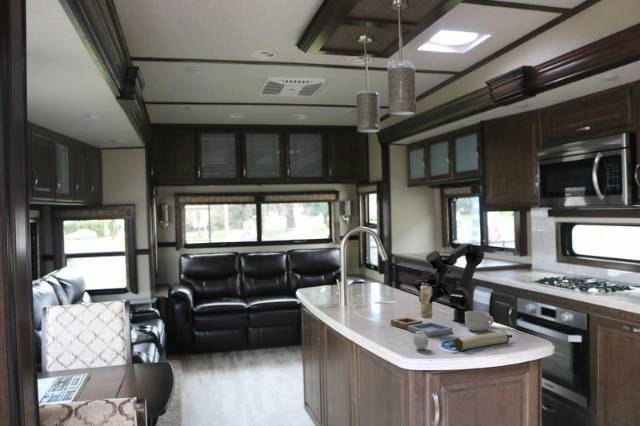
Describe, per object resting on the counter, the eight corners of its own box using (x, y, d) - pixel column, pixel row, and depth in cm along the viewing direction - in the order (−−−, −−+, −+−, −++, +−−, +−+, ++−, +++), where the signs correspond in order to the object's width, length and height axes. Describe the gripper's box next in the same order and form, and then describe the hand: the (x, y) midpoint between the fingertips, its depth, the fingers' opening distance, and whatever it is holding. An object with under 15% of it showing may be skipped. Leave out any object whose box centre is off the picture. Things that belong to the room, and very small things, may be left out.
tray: (452, 332, 220) (452, 327, 220) (428, 337, 213) (428, 332, 213) (430, 326, 232) (430, 322, 232) (407, 330, 225) (407, 326, 225)
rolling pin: (507, 340, 206) (506, 328, 206) (517, 343, 201) (517, 331, 201) (445, 350, 193) (445, 338, 193) (454, 354, 188) (454, 341, 188)
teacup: (460, 328, 227) (459, 311, 227) (479, 326, 231) (478, 309, 231) (480, 335, 214) (479, 317, 214) (500, 332, 218) (499, 314, 218)
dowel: (434, 316, 224) (433, 286, 224) (430, 319, 220) (429, 287, 220) (423, 315, 227) (422, 285, 226) (419, 317, 222) (418, 287, 222)
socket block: (422, 326, 233) (422, 321, 233) (405, 329, 227) (405, 324, 227) (408, 322, 242) (407, 317, 242) (390, 325, 237) (390, 319, 237)
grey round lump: (425, 346, 199) (424, 329, 199) (431, 351, 192) (431, 333, 192) (410, 347, 198) (410, 330, 198) (416, 352, 191) (416, 334, 191)
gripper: (414, 263, 233) (400, 289, 225) (448, 265, 219) (434, 293, 211) (425, 277, 238) (411, 303, 231) (458, 281, 224) (445, 309, 217)
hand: (424, 302), depth 222 cm, fingers closed on dowel, 5 cm apart
